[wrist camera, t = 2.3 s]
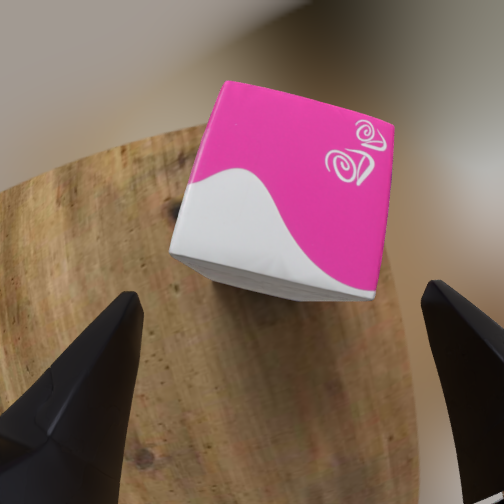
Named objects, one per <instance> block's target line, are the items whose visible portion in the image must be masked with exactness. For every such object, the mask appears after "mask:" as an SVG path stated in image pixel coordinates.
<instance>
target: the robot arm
mask: <svg viewBox="0 0 504 504" xmlns="http://www.w3.org/2000/svg"><path fill="white" fill-rule="evenodd" d="M421 308H422V312H423V316H424V320H425V325H426V329H427V334H428V339H429V343H430V347H431V351H432V354H433V357H434V361H435V364H436V368H437V371H438V375H439V378H440V382H441V386H442V389H443V393H444V397H445V401H446V405H447V410H448V414H449V418H450V423H451V427H452V432H453V437H454V442H455V448H456V453H457V460H458V466H459V472H460V479H461V486H462V495H463V503H464V504H474V503H476V502H479V501H481V500H484V499H486V498H488V497H491V496H493V495H495V494H498V493H500V492H502V494H503V498H501V499H499V500H497V501H496V502H494V503H492V504H504V329H503V328H502V327H501V326H500V325H498V324H497V323H496V322H495V321H494V320H492V319H491V318H490V317H489V316H487V315H486V314H485V313H484V312H482V311H481V310H480V309H479V308H477V307H476V306H475V305H473V304H472V303H471V302H470V301H468V300H467V299H466V298H464V297H463V296H462V295H460V294H459V293H458V292H457V291H455V290H454V289H453V288H451V287H450V286H449V285H447V284H446V283H445V282H443V281H442V280H431V281H430V282H428V284H427V287H426V289H425V291H424V294H423V296H422V298H421ZM143 320H144V312H143V308H142V306H141V303H140V300H139V297H138V294H137V293H136V292H134V291H124V292H122V293H121V294H120V295H119V296H118V297H117V298H116V299H115V300H114V301H113V302H112V303H111V304H110V305H109V306H108V307H107V308H106V309H105V310H104V311H103V312H102V313H101V314H100V315H99V316H98V317H97V318H96V319H95V320H94V321H93V322H92V323H91V324H90V325H89V326H88V327H87V328H86V329H85V330H84V331H83V332H82V333H81V334H80V335H79V336H78V337H77V338H76V339H75V340H74V341H73V342H72V343H71V344H70V345H69V347H68V348H67V349H66V350H65V351H64V352H63V353H62V354H61V355H60V356H59V357H58V358H57V359H56V360H55V362H54V363H53V364H52V365H51V366H50V368H48V369H47V370H46V371H45V372H44V373H43V374H42V376H41V377H40V378H39V379H38V380H37V381H36V382H35V383H34V384H33V385H32V386H31V387H30V388H29V389H28V390H27V391H26V392H25V393H24V394H23V395H22V396H21V397H20V398H19V399H18V400H17V401H16V402H15V403H13V404H12V405H11V406H10V407H9V408H8V409H7V410H6V411H5V412H4V413H3V414H2V415H1V416H0V504H118V497H119V488H120V483H119V482H120V478H121V469H122V462H123V454H124V447H125V440H126V434H127V427H128V421H129V415H130V409H131V403H132V398H133V392H134V387H135V382H136V376H137V371H138V366H139V360H140V350H141V339H142V329H143Z"/></svg>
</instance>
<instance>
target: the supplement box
mask: <svg viewBox="0 0 504 504" xmlns="http://www.w3.org/2000/svg"><path fill="white" fill-rule="evenodd" d="M393 148H394V125H392V124H389V123H387V122H385V121H382V120H380V119H377V118H374V117H371V116H368V115H365V114H362V113H358V112H355V111H351V110H348V109H344V108H341V107H337V106H333V105H330V104H326V103H322V102H319V101H316V100H311V99H308V98H305V97H301V96H297V95H293V94H289V93H285V92H281V91H277V90H272V89H268V88H264V87H258V86H254V85H250V84H245V83H239V82H234V81H225V83H224V84H223V86H222V88H221V90H220V92H219V95H218V97H217V100H216V102H215V105H214V108H213V110H212V113H211V115H210V118H209V121H208V124H207V127H206V129H205V132H204V134H203V137H202V140H201V143H200V147H199V149H198V152H197V156H196V159H195V162H194V165H193V168H192V171H191V174H190V177H189V181H188V184H187V188H186V191H185V193H184V197H183V201H182V204H181V207H180V211H179V215H178V219H177V222H176V225H175V229H174V232H173V236H172V240H171V244H170V249H169V254H170V255H171V256H172V257H173V258H175V259H177V260H178V261H180V262H182V263H183V264H185V265H187V266H188V267H190V268H192V269H193V270H195V271H197V272H198V273H200V274H201V275H203V276H205V277H206V278H208V279H210V280H212V281H216V282H219V283H223V284H227V285H231V286H235V287H239V288H243V289H247V290H251V291H255V292H259V293H263V294H267V295H272V296H276V297H280V298H285V299H289V300H293V301H372V300H373V299H374V297H375V295H376V287H377V283H378V278H379V273H380V267H381V260H382V253H383V247H384V240H385V233H386V225H387V217H388V207H389V199H390V188H391V180H392V179H391V178H392V164H393Z"/></svg>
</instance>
